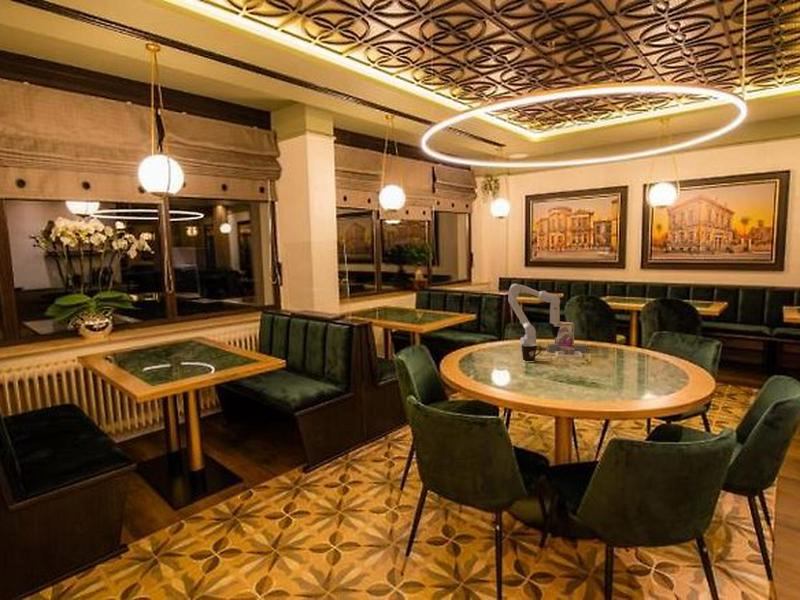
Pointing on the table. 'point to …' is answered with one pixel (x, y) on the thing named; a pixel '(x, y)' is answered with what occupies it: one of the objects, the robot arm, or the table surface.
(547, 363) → the table surface
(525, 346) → the coffee mug
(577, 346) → the outer fuse
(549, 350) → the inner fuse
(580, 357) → the parts tray
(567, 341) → the candy bar box
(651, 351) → the table surface
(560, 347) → the fuse board
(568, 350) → the marked fuse
